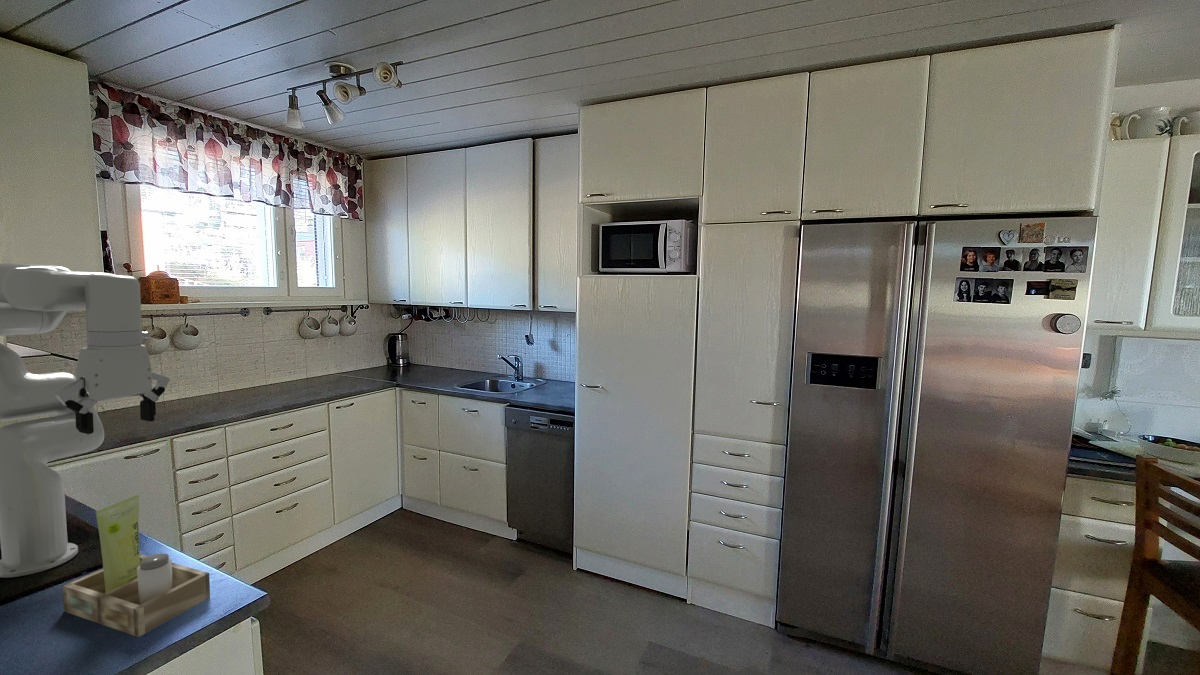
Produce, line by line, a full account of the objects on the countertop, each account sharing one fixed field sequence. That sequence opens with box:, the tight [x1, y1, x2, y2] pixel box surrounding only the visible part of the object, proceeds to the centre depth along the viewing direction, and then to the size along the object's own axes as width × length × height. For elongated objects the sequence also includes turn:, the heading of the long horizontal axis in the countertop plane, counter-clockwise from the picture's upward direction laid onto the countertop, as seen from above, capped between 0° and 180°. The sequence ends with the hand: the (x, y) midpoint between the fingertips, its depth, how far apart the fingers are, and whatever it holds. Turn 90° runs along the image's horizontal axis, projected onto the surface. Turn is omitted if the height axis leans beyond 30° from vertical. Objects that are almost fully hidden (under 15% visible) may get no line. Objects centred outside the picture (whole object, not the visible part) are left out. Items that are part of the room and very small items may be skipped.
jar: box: [137, 553, 173, 605], centre depth 93 cm, size 5×5×10 cm
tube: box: [95, 493, 141, 593], centre depth 95 cm, size 6×5×20 cm
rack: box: [62, 553, 211, 638], centre depth 94 cm, size 20×12×6 cm, turn 73°
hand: (118, 426), depth 96 cm, fingers open, 9 cm apart
